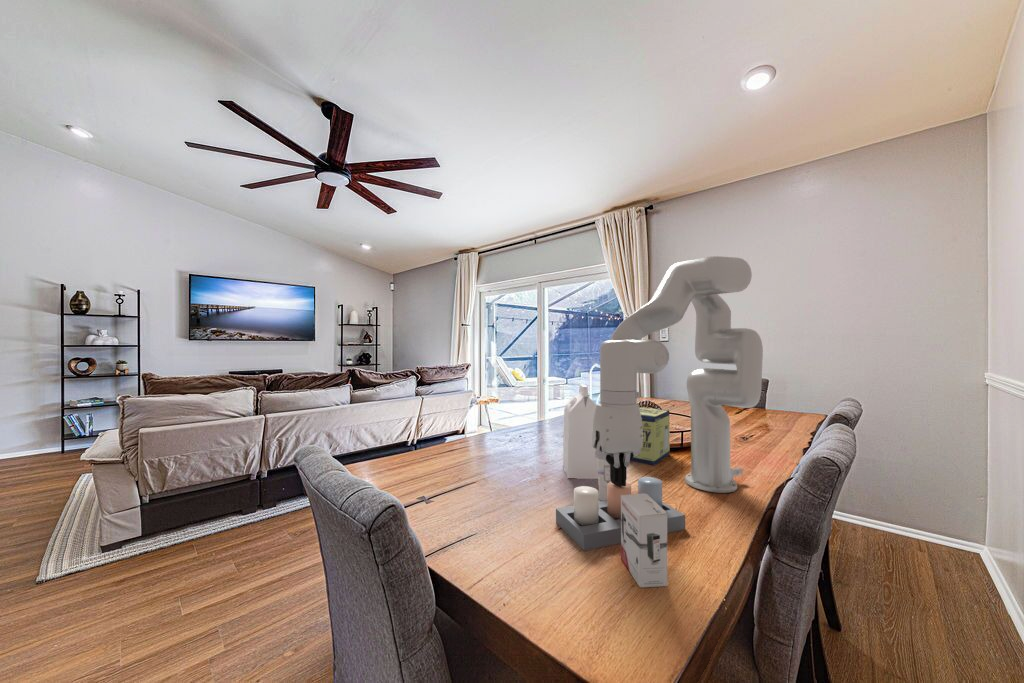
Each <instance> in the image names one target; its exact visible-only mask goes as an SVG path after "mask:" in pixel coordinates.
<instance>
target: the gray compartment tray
mask: <svg viewBox="0 0 1024 683" xmlns="http://www.w3.org/2000/svg"><path fill="white" fill-rule="evenodd" d="M598 502H599V522H598V523H597V524H592V525H587V526H584V525H580V524H578V523H576V522H575V521H574V504H573V505H569V506H563V507H562V506H561V507H556V508H555V523H556V524H558V526H559V527H560V528H561V529H562V530H563V531H564V533H565V534H567V535H568V536H569V537H570V538H571V540H572V541H574V542H575V543H576V544H577V546H578V547H580V548H581V550H583V552H585V551H590V550H596V549H599V548H605V547H610V546H614V545H620V544H621V519H615V518H612V517H611V516H609V515H608V514H607V500H598ZM662 509H663V510H665V511H666V514H667V534H669V533H674V532H679V531H683V530H686V514H685V513H682V512H681V511H679V510H677V509H676V508H674V507H673V506H671V505H669V504H667V503H665V502H663V501H662Z"/></svg>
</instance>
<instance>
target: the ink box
mask: <svg viewBox="0 0 1024 683" xmlns="http://www.w3.org/2000/svg"><path fill="white" fill-rule="evenodd" d="M620 559H621V560H622V562H623V564H624V565H625V566H626V568H627V570H628V571H629V573H630V574H631V576H632V577H633V579H634V581H635V582H636V584H637V586H638V587H639V588H656V587H667V586H668V533H667V514H666V511H665V510H663V509H662V508H661V507H660V506H659V505H658V504H657V503H656V502H655V501H654V500H653V499H652V498H651V497H649V495H648V494H644V493H642V494H638V493H631V494H630V495H621V543H620Z"/></svg>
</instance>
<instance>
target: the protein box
mask: <svg viewBox="0 0 1024 683" xmlns="http://www.w3.org/2000/svg"><path fill="white" fill-rule="evenodd" d="M639 408H640V413H641V419H642V430H643V444H642V448H641V454H639V455H637V456H635V457H633V458H632V459H631V461H630V462H634V463H639V464H643V465H649V466H656V465H657V464H659V463H660V462H662V461H663V460H664V459H667V457H669V456H670V451H671V450H670V438H671V437H670V410H669V409H661V408H653V407H652V408H651V407H643V406H639Z"/></svg>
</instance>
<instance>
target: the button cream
mask: <svg viewBox="0 0 1024 683" xmlns="http://www.w3.org/2000/svg"><path fill="white" fill-rule="evenodd" d="M598 501H599V489H597V488H595V487H593V486H587V485H581V486H576V487H575V488H573V505H574V521H575V522H576V523H578V524H580V525H579V526H587V525H592V524H597V523H598V522H599V502H598Z"/></svg>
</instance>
